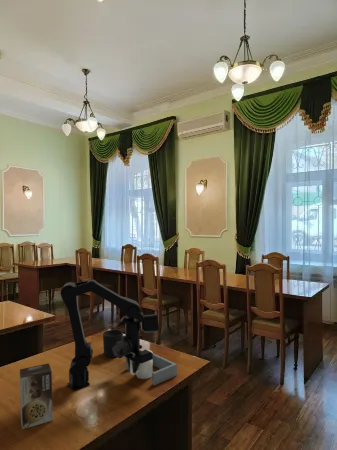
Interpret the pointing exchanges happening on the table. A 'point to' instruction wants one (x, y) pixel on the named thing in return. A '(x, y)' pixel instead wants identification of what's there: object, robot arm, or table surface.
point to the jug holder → (161, 369)
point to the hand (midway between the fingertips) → (133, 372)
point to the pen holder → (111, 341)
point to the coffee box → (36, 395)
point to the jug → (143, 369)
